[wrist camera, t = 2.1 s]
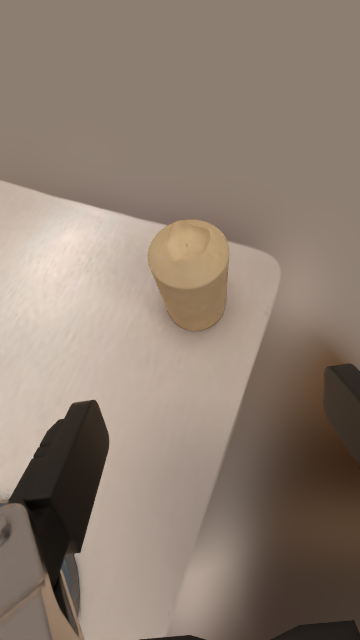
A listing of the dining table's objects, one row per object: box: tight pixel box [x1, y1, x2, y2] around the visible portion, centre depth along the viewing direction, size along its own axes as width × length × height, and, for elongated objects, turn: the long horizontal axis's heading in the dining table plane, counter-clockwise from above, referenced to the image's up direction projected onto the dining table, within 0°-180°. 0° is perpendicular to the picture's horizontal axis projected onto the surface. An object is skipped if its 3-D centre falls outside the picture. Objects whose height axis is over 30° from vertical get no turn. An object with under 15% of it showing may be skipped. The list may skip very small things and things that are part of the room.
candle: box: [148, 220, 229, 330], centre depth 23 cm, size 6×6×10 cm
